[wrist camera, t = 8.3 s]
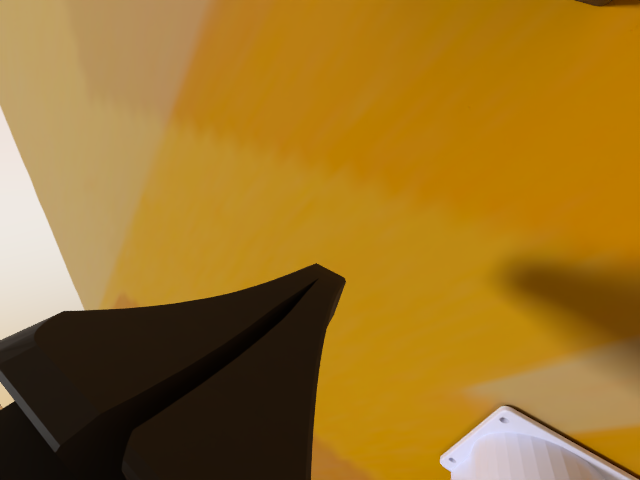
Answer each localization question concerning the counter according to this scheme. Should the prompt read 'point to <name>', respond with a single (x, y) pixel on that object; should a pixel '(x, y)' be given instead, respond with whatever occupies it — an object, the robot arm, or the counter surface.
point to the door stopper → (596, 2)
